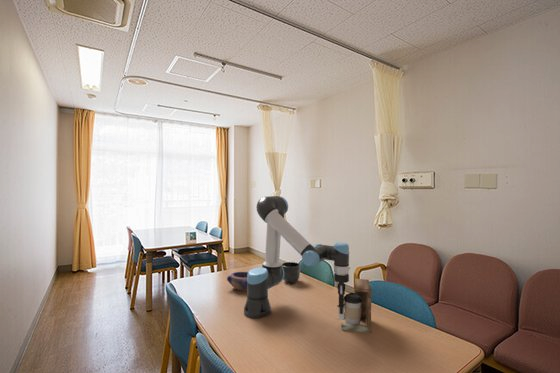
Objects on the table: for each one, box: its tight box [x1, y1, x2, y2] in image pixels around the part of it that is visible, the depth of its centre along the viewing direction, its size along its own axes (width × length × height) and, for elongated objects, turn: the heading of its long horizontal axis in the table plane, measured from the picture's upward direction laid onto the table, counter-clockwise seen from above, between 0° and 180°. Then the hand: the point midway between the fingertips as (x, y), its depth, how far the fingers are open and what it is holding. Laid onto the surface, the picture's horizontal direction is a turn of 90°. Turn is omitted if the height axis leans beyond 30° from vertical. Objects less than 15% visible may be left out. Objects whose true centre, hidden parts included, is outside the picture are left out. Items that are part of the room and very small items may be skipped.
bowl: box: [226, 271, 249, 291], centre depth 193 cm, size 18×18×10 cm
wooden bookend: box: [340, 278, 372, 334], centre depth 143 cm, size 14×14×21 cm
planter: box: [281, 261, 301, 285], centre depth 206 cm, size 14×14×13 cm
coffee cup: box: [344, 292, 362, 326], centre depth 142 cm, size 9×9×15 cm
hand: (341, 318), depth 144 cm, fingers closed
